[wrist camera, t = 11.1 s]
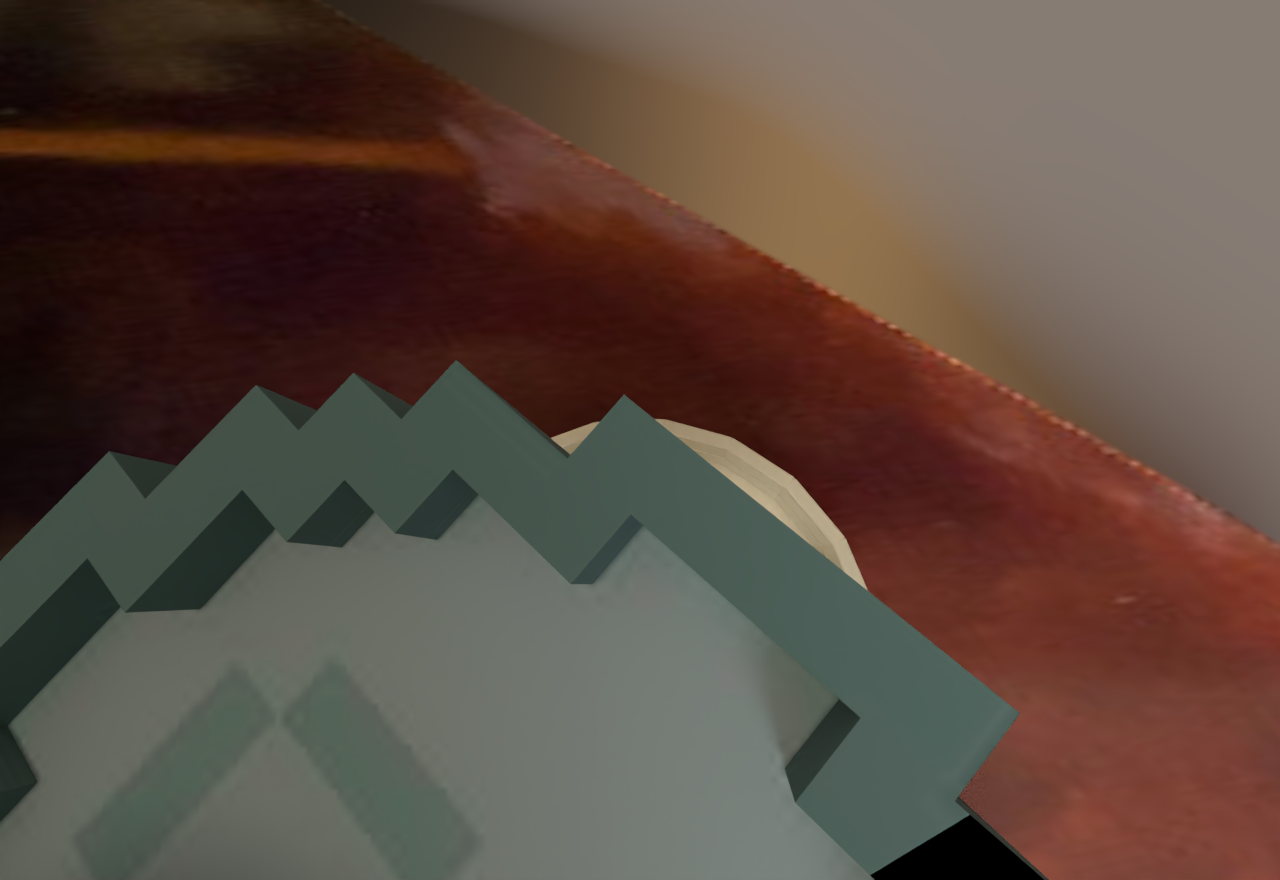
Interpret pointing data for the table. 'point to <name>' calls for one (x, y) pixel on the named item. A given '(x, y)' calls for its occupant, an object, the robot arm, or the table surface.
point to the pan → (756, 487)
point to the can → (465, 667)
